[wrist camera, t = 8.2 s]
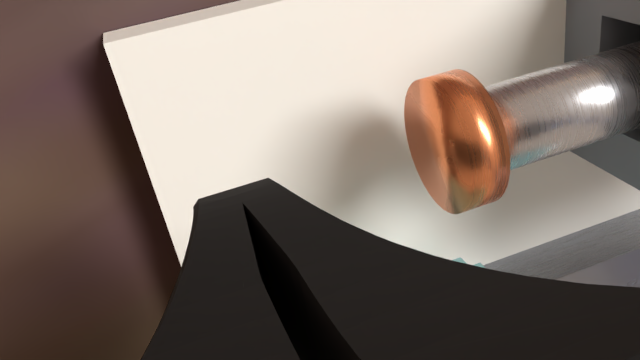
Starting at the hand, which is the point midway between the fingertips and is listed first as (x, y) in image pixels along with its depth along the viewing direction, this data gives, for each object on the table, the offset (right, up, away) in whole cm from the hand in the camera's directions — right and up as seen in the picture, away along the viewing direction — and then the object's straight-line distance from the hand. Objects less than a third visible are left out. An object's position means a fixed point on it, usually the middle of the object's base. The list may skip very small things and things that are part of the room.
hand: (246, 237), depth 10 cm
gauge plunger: (+6, +3, +4) cm, 8 cm away
